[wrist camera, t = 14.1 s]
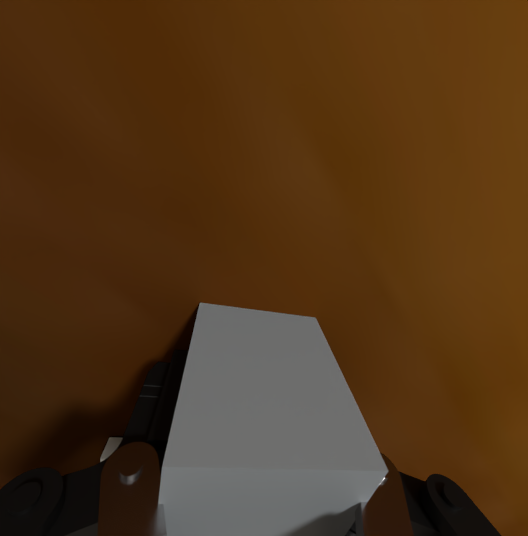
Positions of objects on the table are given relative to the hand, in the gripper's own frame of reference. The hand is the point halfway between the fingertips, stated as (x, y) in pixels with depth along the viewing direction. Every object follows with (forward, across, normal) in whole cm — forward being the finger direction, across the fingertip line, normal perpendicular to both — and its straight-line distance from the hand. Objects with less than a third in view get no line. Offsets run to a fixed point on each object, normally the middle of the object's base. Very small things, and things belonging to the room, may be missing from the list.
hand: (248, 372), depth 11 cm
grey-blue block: (+1, 0, 0) cm, 1 cm away
